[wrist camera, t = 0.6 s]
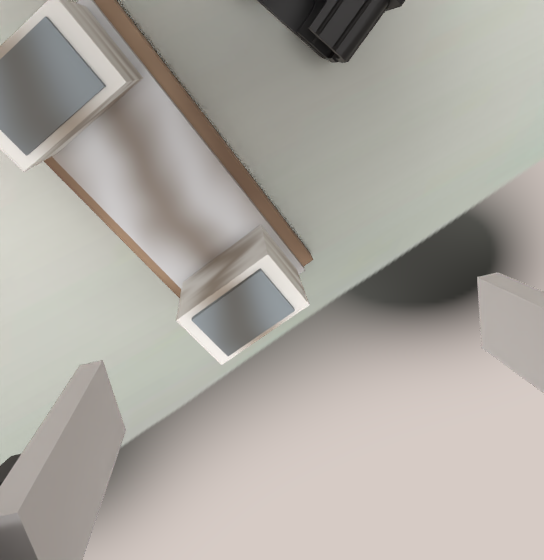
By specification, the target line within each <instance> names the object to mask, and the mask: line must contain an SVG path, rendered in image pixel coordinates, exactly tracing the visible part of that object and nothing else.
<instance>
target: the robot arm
mask: <svg viewBox="0 0 544 560" xmlns="http://www.w3.org/2000/svg"><path fill="white" fill-rule="evenodd" d="M477 279H478V280H477V281H478V296H479V297H478V298H479V315H480V330H481V347H482V349H484V350H485V351H487V352H488V353H489V354H491V355H492V356H493V357H495V358H496V359H498V360H499V361H500V362H502V363H503V364H505V365H506V366H507V367H509V368H510V369H511V370H513V371H514V372H515V373H517V374H518V375H519V376H521V377H522V378H524V379H525V380H526V381H528V382H529V383H530V384H532V385H533V386H534V387H536V388H537V389H539V390H540V391H541V392H543V393H544V291H541V290H539V289H536V288H534V287H532V286H529V285H527V284H524V283H522V282H520V281H517V280H515V279H512V278H510V277H508V276H505V275H503V274H501V273H493V274H489V275H484V276H480V277H477ZM125 431H126V429H125V426H124V423H123V420H122V417H121V414H120V411H119V408H118V405H117V402H116V399H115V396H114V393H113V390H112V387H111V384H110V381H109V378H108V375H107V372H106V369H105V365H104V362H103V360H101V361H97V362H92V363H88V364H83V365H80V366H79V367H78V369H77V370H76V372H75V373H74V375H73V376H72V378H71V379H70V381H69V382H68V384H67V385H66V387H65V388H64V390H63V391H62V393H61V394H60V396H59V397H58V399H57V401H56V402H55V404H54V405H53V407H52V408H51V410H50V411H49V413H48V414H47V416H46V417H45V419H44V420H43V422H42V423H41V425H40V426H39V428H38V429H37V431H36V433H35V434H34V436H33V437H32V439H31V440H30V442H29V443H28V445H27V446H26V448H25V449H24V451H23V452H22V454H18V455H14V456H11V457H10V458H9V459H7V460H6V461H5V462H4V463H3V464H2V465H0V560H83V557H84V554H85V551H86V548H87V545H88V542H89V539H90V536H91V533H92V530H93V527H94V524H95V521H96V518H97V515H98V512H99V509H100V506H101V503H102V500H103V497H104V494H105V491H106V488H107V485H108V482H109V479H110V476H111V473H112V470H113V467H114V464H115V461H116V458H117V455H118V452H119V449H120V446H121V443H122V440H123V437H124V434H125Z"/></svg>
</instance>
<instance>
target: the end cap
mask: <svg viewBox="0 0 544 560" xmlns="http://www.w3.org/2000/svg"><path fill="white" fill-rule="evenodd" d="M258 1H259V2H260V3H261V4H262V5H263V6H264V7H265V8H267V9H268V10H269V11H270V12H271V13H272V14H273V15H274V16H276V17H277V18H278V19H279V20H280V21H281V22H282V23H283V24H285V25H286V26H287V27H288V28H289V29H290V30H291V31H292V32H294V33H295V34H296V35H297V36H298V37H299V38H300V39H301V40H303V41H304V42H305V43H306V44H307V45H308V46H309V47H310V48H312V49H313V50H314V51H315V52H316V53H317V54H318V55H319V56H321V57H322V58H324V59H328V60H329V61H331V62H339V61H340V62H341V63H345V62H348V61H349V60H350V58H351V57H352V56H353V54H354V53H355V52H356V50H357V49H358V47H359V46H360V45H361V43H362V42H363V41H364V39H365V38H366V37H367V35H368V34H369V32H370V31H371V30H372V28H373V27H374V26H375V24H376V23H377V21H378V20H379V19H380V17H381V16H382V15H383V13H384V12H385V11H387V10H391V9H394V8H397V7H401V6H402V4H403V3H404V1H405V0H258Z"/></svg>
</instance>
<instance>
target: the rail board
mask: <svg viewBox="0 0 544 560" xmlns="http://www.w3.org/2000/svg"><path fill="white" fill-rule="evenodd" d="M0 149H1V150H2V151H3V152H4V153H5V154H6V155H7V156H8V157H9V158H10V159H11V160H12V161H13V162H14V163H15V164H16V165H17V166H18V167H19V168H20V169H21V170H22V171H23V172H25V171H27V170H28V169H30V168H32V167H34V166H35V165H37V164H39V163H41V162H42V161H44V162H45V163H46V164H47V165H48V166H49V167H50V168H51V169H52V170H53V171H54V172H55V173H56V174H57V175H58V176H59V177H60V178H61V179H62V180H63V181H64V182H65V183H66V184H67V185H68V186H69V187H70V188H71V189H72V190H73V191H74V192H75V193H76V194H77V195H78V196H79V197H80V198H81V199H82V200H83V201H84V202H85V203H86V204H87V205H88V206H89V207H90V208H91V209H92V210H93V211H94V212H95V213H96V214H97V215H98V216H99V217H100V218H101V219H102V220H103V221H104V222H105V223H106V225H107V226H108V227H109V228H110V229H111V230H112V231H113V232H114V233H115V234H116V235H117V236H118V237H119V238H120V239H121V240H122V241H123V242H124V243H125V244H126V245H127V246H128V247H129V248H130V249H131V250H132V251H133V252H134V253H135V254H136V255H137V256H138V257H139V258H140V259H141V260H142V261H143V262H144V263H145V264H146V265H147V266H148V267H149V268H150V269H151V270H152V271H153V272H154V273H155V274H156V275H157V276H158V277H159V278H160V279H161V280H162V281H163V282H164V283H165V284H166V285H167V286H168V287H169V288H170V289H171V290H172V291H173V292H174V293H175V294H176V295H177V296H178V297H179V298H180V300H179V306H178V312H177V318H176V321H177V322H178V323H179V324H180V325H181V326H182V327H183V328H184V329H185V330H186V331H187V332H188V333H189V334H190V335H191V336H192V337H193V338H194V339H195V340H197V341H198V342H199V343H200V344H201V345H202V346H203V347H204V348H205V349H206V350H207V351H208V352H209V353H210V354H211V355H212V356H213V357H214V358H215V359H216V360H217V361H218V362H219V363H220V364H221V365H222V364H224V363H225V362H227V361H228V360H230V359H231V358H232V357H234V356H235V355H237V354H238V353H240V352H241V351H243V350H244V349H246V348H247V347H249V346H250V345H252V344H253V343H255V342H256V341H257V340H259V339H260V338H262V337H263V336H265V335H266V334H268V333H269V332H271V331H272V330H274V329H275V328H277V327H278V326H279V325H281V324H282V323H284V322H285V321H287V320H288V319H290V318H291V317H293V316H294V315H296V314H297V313H299V312H300V311H301V310H303V309H304V308H306V307H307V306H309V305H310V304H309V302H308V299H307V296H306V293H305V291H304V288H303V285H302V282H301V280H300V277H299V274H301V273H302V272H303V271H305V269H304V266H305V265H306V264H308V263H309V262H310V261H312V260H313V258H312V256H311V254H310V252H309V251H308V249H307V248H306V247H305V246H304V244H303V243H302V242H301V240H300V239H299V238H298V236H297V235H296V234H295V233H294V231H293V230H292V229H291V227H290V226H289V225H288V223H287V222H286V221H285V219H284V218H283V217H282V216H281V214H280V213H279V212H278V210H277V209H276V208H275V206H274V205H273V204H272V203H271V201H270V200H269V199H268V197H267V196H266V195H265V193H264V192H263V191H262V190H261V188H260V187H259V186H258V184H257V183H256V182H255V180H254V179H253V178H252V176H251V175H250V174H249V173H248V171H247V170H246V169H245V167H244V166H243V165H242V163H241V162H240V161H239V160H238V158H237V157H236V156H235V154H234V153H233V152H232V150H231V149H230V148H229V147H228V145H227V144H226V143H225V141H224V140H223V139H222V137H221V136H220V135H219V133H218V132H217V131H216V130H215V128H214V127H213V126H212V124H211V123H210V122H209V120H208V119H207V118H206V117H205V115H204V114H203V113H202V111H201V110H200V109H199V107H198V106H197V105H196V104H195V102H194V101H193V100H192V98H191V97H190V96H189V94H188V93H187V92H186V90H185V89H184V88H183V87H182V85H181V84H180V83H179V81H178V80H177V79H176V77H175V76H174V75H173V74H172V72H171V71H170V70H169V68H168V67H167V66H166V64H165V63H164V62H163V61H162V59H161V58H160V57H159V55H158V54H157V53H156V51H155V50H154V49H153V47H152V46H151V45H150V44H149V42H148V41H147V40H146V38H145V37H144V36H143V34H142V33H141V32H140V31H139V29H138V28H137V27H136V25H135V24H134V23H133V21H132V20H131V19H130V18H129V16H128V15H127V14H126V12H125V11H124V10H123V8H122V7H121V6H120V5H119V3H118V2H117V1H116V0H79V1H77V2H76V3H75V2H73V1H70V0H47V1H46V2H45V3H44V4H43V5H42V6H41V7H40V8H39V9H38V10H37V11H36V12H35V13H34V14H33V15H32V16H31V17H30V18H29V19H28V20H27V21H26V22H25V23H24V24H23V25H22V26H21V27H20V28H19V29H17V30H16V31H15V32H14V33H13V34H12V35H11V36H10V37H9V38H8V39H7V40H6V41H5V42H4V43H3V44H2V45H1V46H0Z"/></svg>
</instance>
